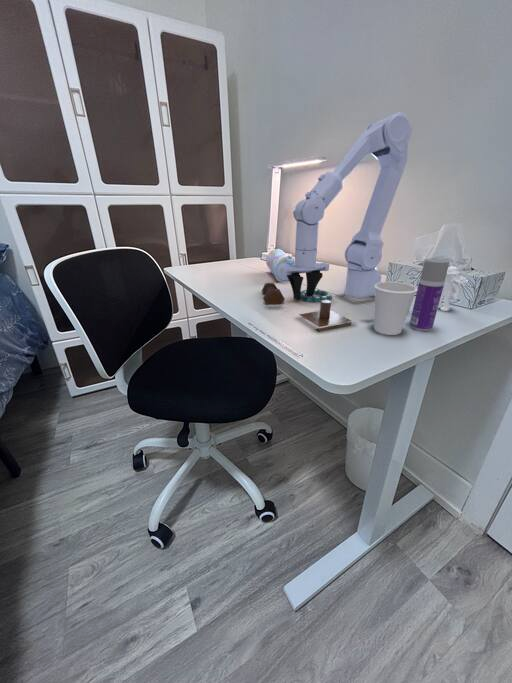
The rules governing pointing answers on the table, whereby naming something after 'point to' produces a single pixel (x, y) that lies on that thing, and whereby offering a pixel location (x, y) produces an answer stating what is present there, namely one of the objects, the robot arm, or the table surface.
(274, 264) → the pencil case
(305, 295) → the ring
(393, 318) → the dixie cup
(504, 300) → the table surface
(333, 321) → the post
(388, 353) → the table surface
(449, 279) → the hat wearing toy figure
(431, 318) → the container
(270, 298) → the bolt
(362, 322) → the table surface
